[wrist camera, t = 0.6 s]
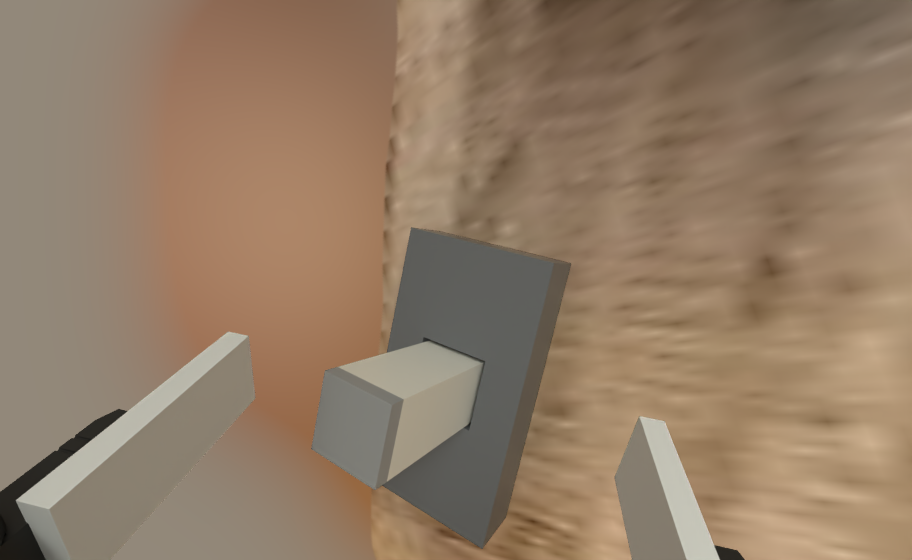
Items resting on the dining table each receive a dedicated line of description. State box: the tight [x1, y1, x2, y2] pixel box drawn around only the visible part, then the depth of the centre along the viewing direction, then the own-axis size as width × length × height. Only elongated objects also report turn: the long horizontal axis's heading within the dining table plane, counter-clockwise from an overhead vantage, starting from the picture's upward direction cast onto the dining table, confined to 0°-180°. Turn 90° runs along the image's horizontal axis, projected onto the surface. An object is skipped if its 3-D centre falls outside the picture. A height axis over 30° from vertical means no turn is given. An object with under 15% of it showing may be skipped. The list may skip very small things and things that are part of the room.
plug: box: [311, 340, 485, 490], centre depth 30 cm, size 5×5×14 cm
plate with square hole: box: [382, 228, 571, 549], centre depth 35 cm, size 22×12×4 cm, turn 166°
